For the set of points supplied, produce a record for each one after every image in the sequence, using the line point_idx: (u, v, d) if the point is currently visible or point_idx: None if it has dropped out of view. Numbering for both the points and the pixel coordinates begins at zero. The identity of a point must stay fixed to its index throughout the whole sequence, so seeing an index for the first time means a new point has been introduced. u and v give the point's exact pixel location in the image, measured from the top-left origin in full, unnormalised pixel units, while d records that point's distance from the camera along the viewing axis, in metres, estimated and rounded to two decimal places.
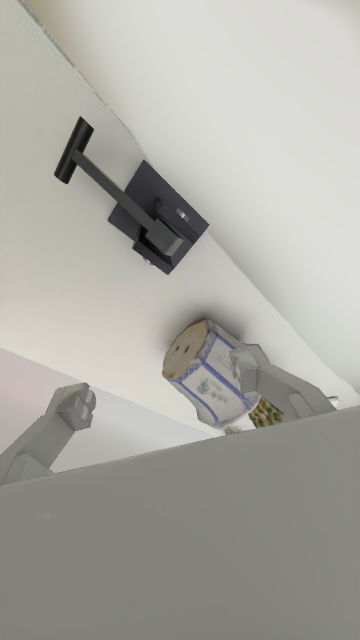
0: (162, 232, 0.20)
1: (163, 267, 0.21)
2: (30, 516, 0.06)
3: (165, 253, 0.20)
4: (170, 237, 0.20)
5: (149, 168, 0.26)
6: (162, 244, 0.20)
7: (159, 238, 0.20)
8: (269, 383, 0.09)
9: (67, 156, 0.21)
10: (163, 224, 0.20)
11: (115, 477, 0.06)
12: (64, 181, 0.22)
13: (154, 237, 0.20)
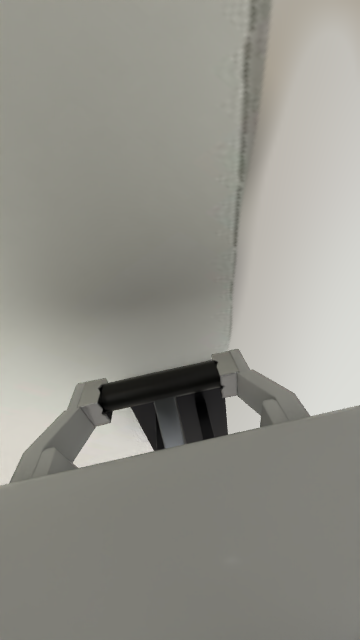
0: None
1: None
2: (30, 516, 0.06)
3: None
4: None
5: None
6: None
7: None
8: (248, 388, 0.09)
9: (151, 398, 0.10)
10: None
11: (115, 477, 0.06)
12: (111, 410, 0.11)
13: None
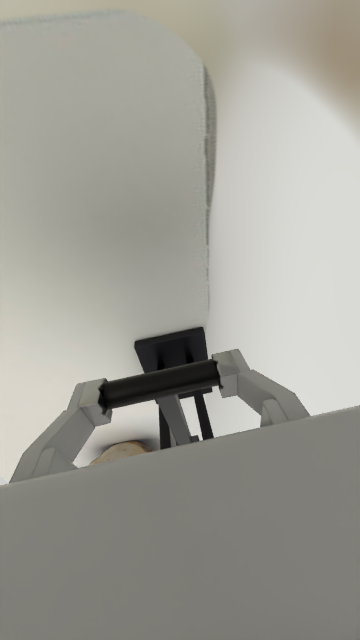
0: None
1: None
2: (30, 516, 0.06)
3: None
4: None
5: (203, 339, 0.26)
6: None
7: None
8: (248, 388, 0.09)
9: (153, 399, 0.11)
10: None
11: (115, 477, 0.06)
12: None
13: None
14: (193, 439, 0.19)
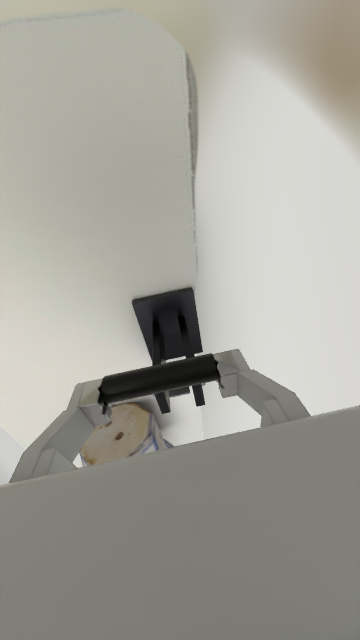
0: None
1: (163, 408, 0.22)
2: (30, 516, 0.06)
3: None
4: None
5: (192, 297, 0.30)
6: None
7: None
8: (248, 388, 0.09)
9: None
10: (188, 392, 0.22)
11: (115, 477, 0.06)
12: None
13: None
14: None
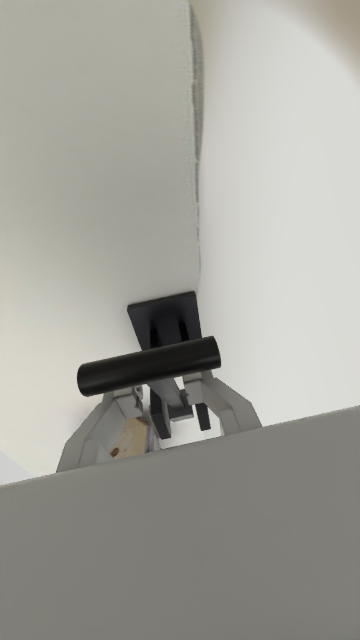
0: (186, 417, 0.20)
1: (163, 434, 0.19)
2: (30, 516, 0.06)
3: (174, 421, 0.21)
4: (188, 418, 0.20)
5: (194, 302, 0.27)
6: (178, 420, 0.20)
7: (179, 419, 0.20)
8: (211, 396, 0.09)
9: None
10: (191, 415, 0.19)
11: (115, 477, 0.06)
12: None
13: (176, 419, 0.19)
14: (183, 392, 0.20)
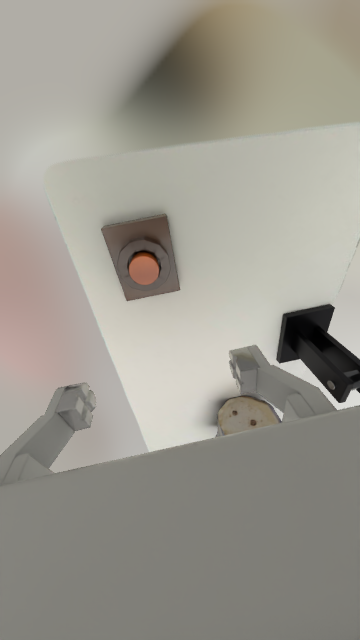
0: (357, 388, 0.30)
1: (343, 399, 0.30)
2: (30, 516, 0.06)
3: None
4: (354, 389, 0.31)
5: (332, 312, 0.37)
6: None
7: (352, 389, 0.31)
8: (269, 383, 0.09)
9: None
10: None
11: (115, 477, 0.06)
12: None
13: (353, 389, 0.30)
14: (355, 372, 0.30)
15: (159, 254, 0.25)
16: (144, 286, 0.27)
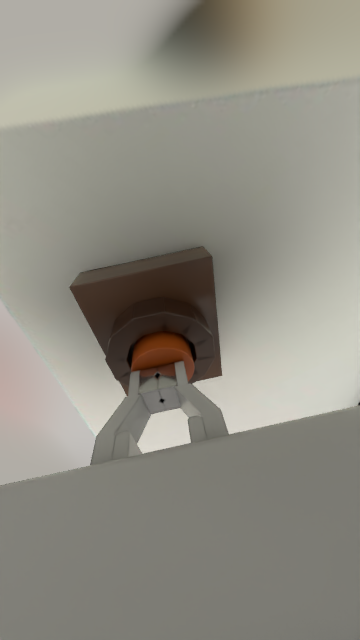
0: None
1: None
2: (30, 516, 0.06)
3: None
4: None
5: None
6: None
7: None
8: (184, 402, 0.09)
9: None
10: None
11: (115, 477, 0.06)
12: None
13: None
14: None
15: (196, 336, 0.12)
16: None
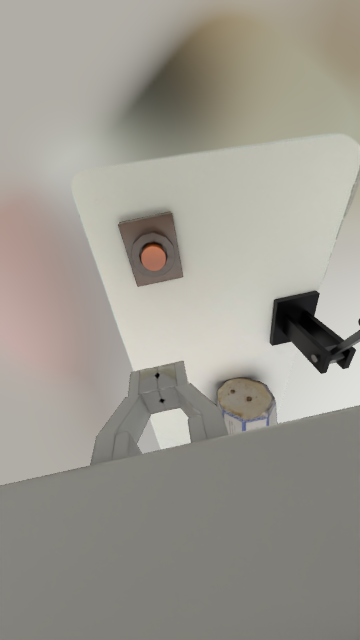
0: (336, 360, 0.35)
1: (324, 370, 0.35)
2: (30, 516, 0.06)
3: None
4: (334, 362, 0.36)
5: (317, 298, 0.42)
6: None
7: (332, 361, 0.35)
8: (184, 402, 0.09)
9: None
10: (341, 358, 0.35)
11: (115, 477, 0.06)
12: None
13: (332, 361, 0.35)
14: (335, 346, 0.35)
15: (166, 245, 0.30)
16: (153, 273, 0.32)
